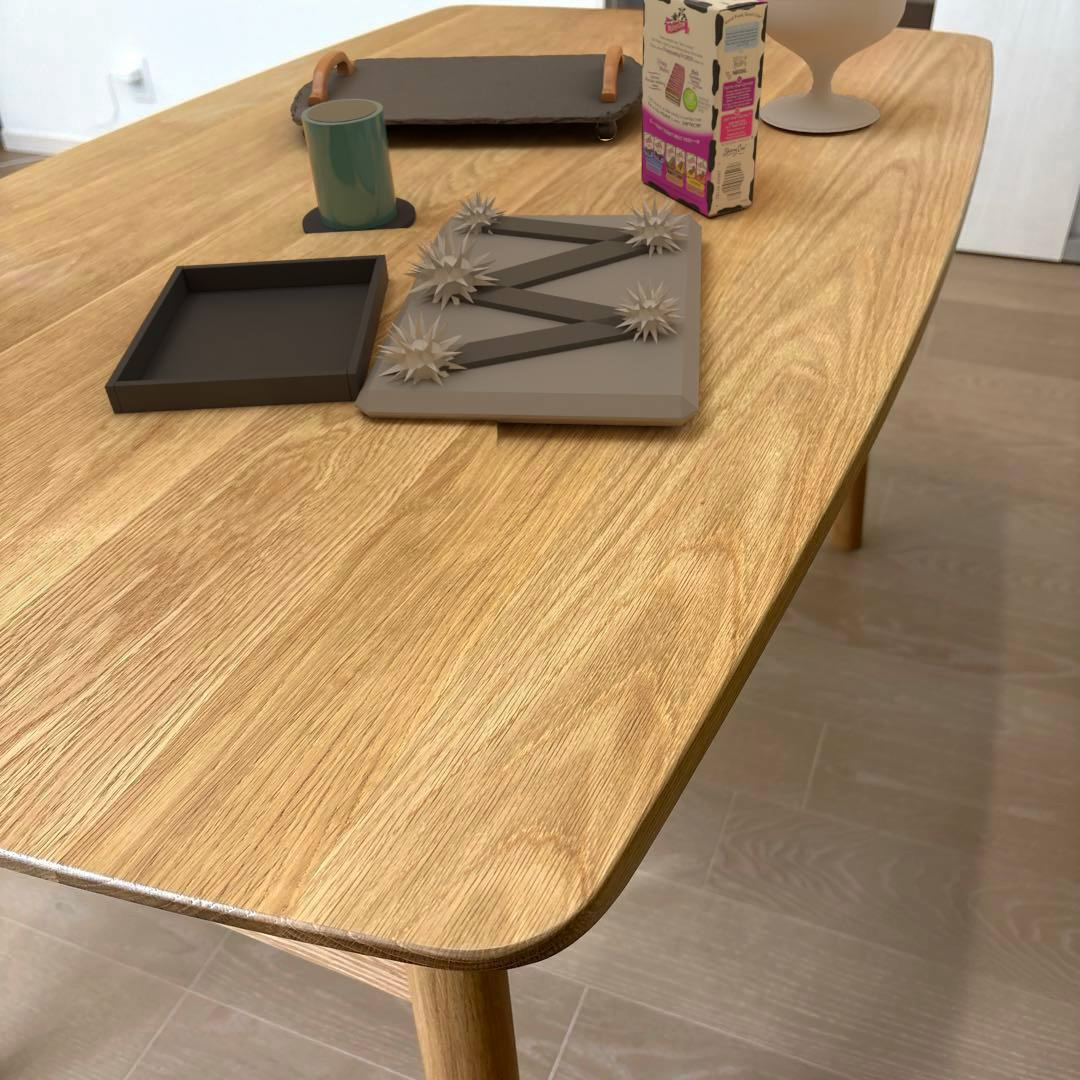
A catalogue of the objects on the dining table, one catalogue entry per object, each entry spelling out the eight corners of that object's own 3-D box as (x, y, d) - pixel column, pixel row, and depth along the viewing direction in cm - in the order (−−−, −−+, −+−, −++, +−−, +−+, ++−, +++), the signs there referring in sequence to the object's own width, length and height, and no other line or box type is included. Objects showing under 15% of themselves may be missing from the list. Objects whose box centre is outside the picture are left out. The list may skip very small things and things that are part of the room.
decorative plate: (697, 440, 65) (702, 335, 60) (354, 432, 68) (334, 331, 63) (701, 238, 88) (704, 151, 83) (445, 238, 91) (435, 154, 86)
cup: (315, 233, 92) (294, 125, 86) (326, 203, 97) (307, 100, 91) (393, 228, 92) (378, 121, 86) (401, 199, 97) (386, 95, 91)
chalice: (917, 123, 107) (945, -45, 97) (797, 149, 103) (814, -24, 94) (836, 88, 117) (854, -67, 108) (724, 110, 113) (733, -49, 104)
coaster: (294, 247, 91) (293, 242, 91) (312, 203, 99) (311, 197, 98) (411, 241, 91) (410, 235, 90) (420, 197, 98) (419, 191, 98)
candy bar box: (756, 207, 92) (772, -1, 82) (708, 220, 91) (718, 10, 81) (683, 169, 100) (689, -24, 90) (638, 181, 99) (639, -15, 88)
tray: (117, 423, 70) (104, 386, 68) (185, 299, 84) (176, 265, 82) (362, 410, 70) (356, 373, 68) (390, 287, 84) (385, 254, 82)
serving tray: (655, 79, 123) (656, 20, 119) (643, 147, 106) (644, 82, 102) (333, 83, 129) (323, 28, 125) (270, 150, 111) (257, 88, 107)
